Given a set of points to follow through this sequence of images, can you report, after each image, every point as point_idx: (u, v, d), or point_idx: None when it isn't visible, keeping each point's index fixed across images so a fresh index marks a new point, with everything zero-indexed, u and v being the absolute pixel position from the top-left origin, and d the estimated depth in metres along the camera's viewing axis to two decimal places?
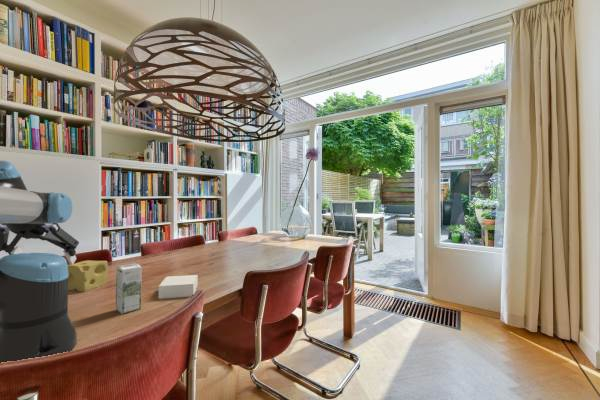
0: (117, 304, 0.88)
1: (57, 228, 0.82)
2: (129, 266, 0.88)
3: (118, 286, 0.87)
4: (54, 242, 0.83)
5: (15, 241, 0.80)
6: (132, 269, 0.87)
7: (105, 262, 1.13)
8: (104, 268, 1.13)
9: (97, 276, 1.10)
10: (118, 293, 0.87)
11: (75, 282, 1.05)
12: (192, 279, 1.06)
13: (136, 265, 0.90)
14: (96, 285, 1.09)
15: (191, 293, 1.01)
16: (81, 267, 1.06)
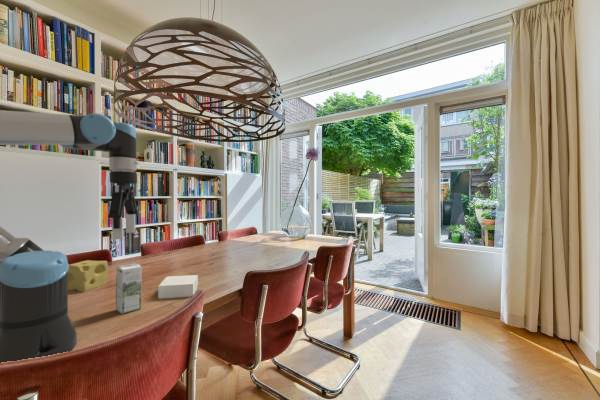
0: (117, 304, 0.88)
1: (117, 190, 0.82)
2: (129, 266, 0.88)
3: (118, 286, 0.87)
4: None
5: None
6: (132, 269, 0.87)
7: (105, 262, 1.13)
8: (104, 268, 1.13)
9: (97, 276, 1.10)
10: (118, 293, 0.87)
11: (75, 282, 1.05)
12: (191, 279, 1.06)
13: (136, 265, 0.90)
14: (96, 285, 1.09)
15: (191, 293, 1.01)
16: (81, 267, 1.06)
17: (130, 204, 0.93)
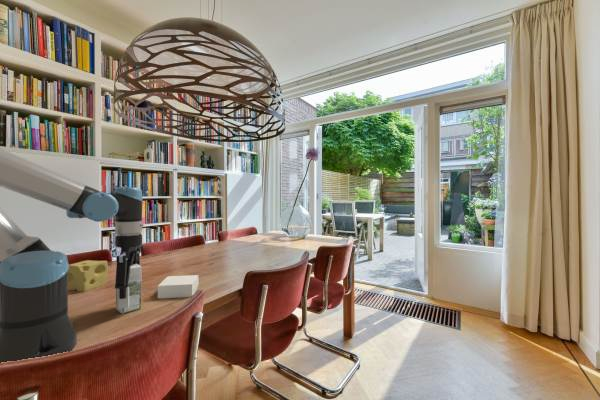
0: (117, 304, 0.88)
1: (121, 261, 0.83)
2: None
3: None
4: None
5: None
6: (132, 269, 0.87)
7: (105, 262, 1.13)
8: (104, 268, 1.13)
9: (97, 276, 1.10)
10: (118, 293, 0.87)
11: (75, 282, 1.05)
12: (191, 279, 1.06)
13: (136, 265, 0.90)
14: (96, 285, 1.09)
15: (190, 293, 1.01)
16: (81, 267, 1.06)
17: None
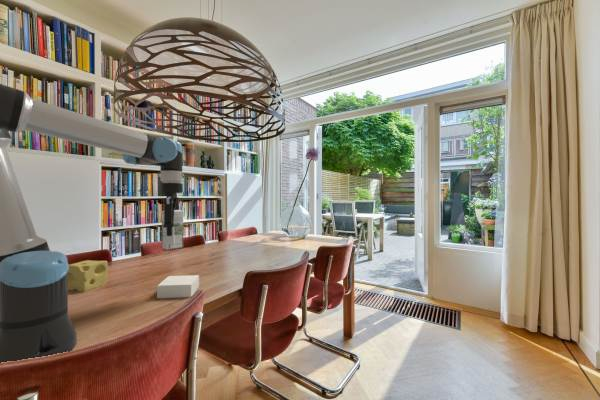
0: (163, 243, 1.01)
1: (168, 203, 0.96)
2: None
3: (164, 227, 1.01)
4: None
5: None
6: (176, 212, 1.01)
7: (105, 262, 1.13)
8: (104, 268, 1.13)
9: (97, 276, 1.10)
10: (164, 233, 1.01)
11: (75, 282, 1.05)
12: (191, 280, 1.06)
13: (178, 210, 1.03)
14: (96, 285, 1.09)
15: (189, 294, 1.01)
16: (81, 267, 1.06)
17: None
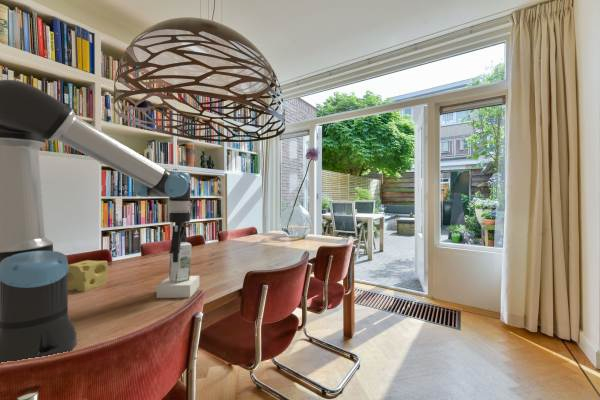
0: (170, 275, 1.05)
1: (176, 230, 0.99)
2: (182, 243, 1.05)
3: None
4: None
5: None
6: (185, 246, 1.04)
7: (105, 262, 1.13)
8: (104, 268, 1.13)
9: (97, 276, 1.10)
10: None
11: (75, 281, 1.05)
12: (191, 280, 1.06)
13: (187, 243, 1.06)
14: (96, 285, 1.09)
15: (188, 294, 1.00)
16: (81, 267, 1.06)
17: (183, 238, 1.10)
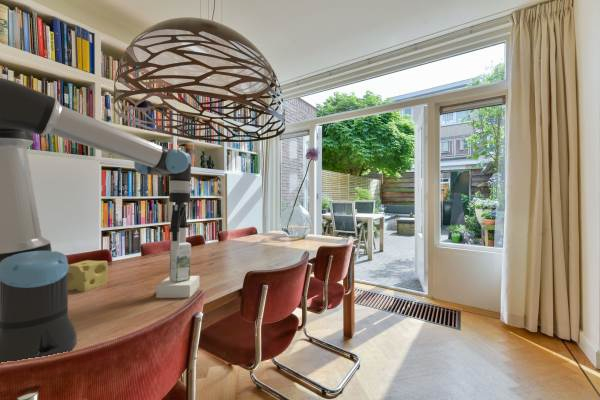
0: (171, 275, 1.05)
1: (176, 209, 0.99)
2: (181, 243, 1.06)
3: (172, 259, 1.04)
4: None
5: None
6: (184, 245, 1.04)
7: (105, 262, 1.13)
8: (104, 268, 1.13)
9: (97, 276, 1.10)
10: (172, 265, 1.04)
11: (75, 281, 1.05)
12: (191, 280, 1.06)
13: (186, 243, 1.07)
14: (96, 285, 1.09)
15: (187, 294, 1.00)
16: (81, 267, 1.06)
17: (183, 219, 1.10)
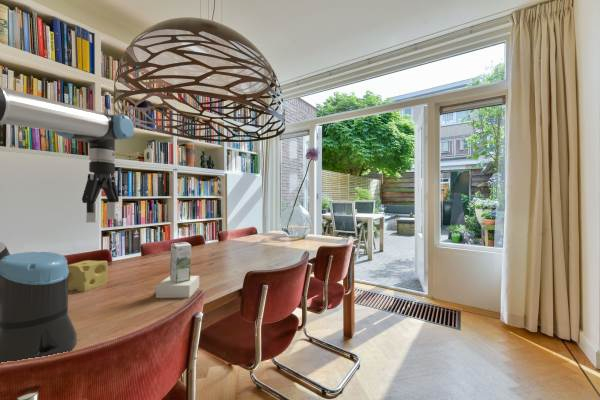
0: (171, 275, 1.05)
1: (92, 178, 0.91)
2: (181, 244, 1.04)
3: (172, 260, 1.04)
4: None
5: None
6: (184, 247, 1.03)
7: (105, 262, 1.13)
8: (104, 268, 1.13)
9: (97, 276, 1.10)
10: (172, 266, 1.04)
11: (75, 281, 1.05)
12: (190, 280, 1.06)
13: (187, 243, 1.06)
14: (96, 285, 1.09)
15: (187, 294, 1.00)
16: (81, 267, 1.06)
17: (110, 192, 1.02)
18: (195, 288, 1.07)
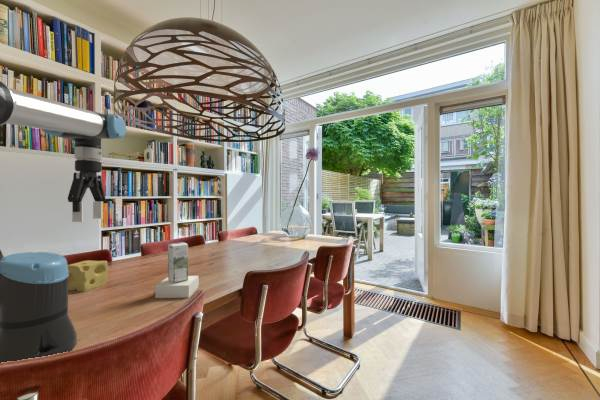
0: (169, 275, 1.04)
1: (78, 177, 0.89)
2: (178, 243, 1.05)
3: (170, 260, 1.04)
4: None
5: None
6: (181, 246, 1.03)
7: (105, 262, 1.13)
8: (104, 268, 1.13)
9: (97, 276, 1.10)
10: (170, 266, 1.04)
11: (75, 281, 1.05)
12: (190, 280, 1.05)
13: (183, 243, 1.06)
14: (96, 285, 1.09)
15: (187, 294, 1.00)
16: (81, 267, 1.06)
17: (96, 191, 1.01)
18: (194, 288, 1.07)
